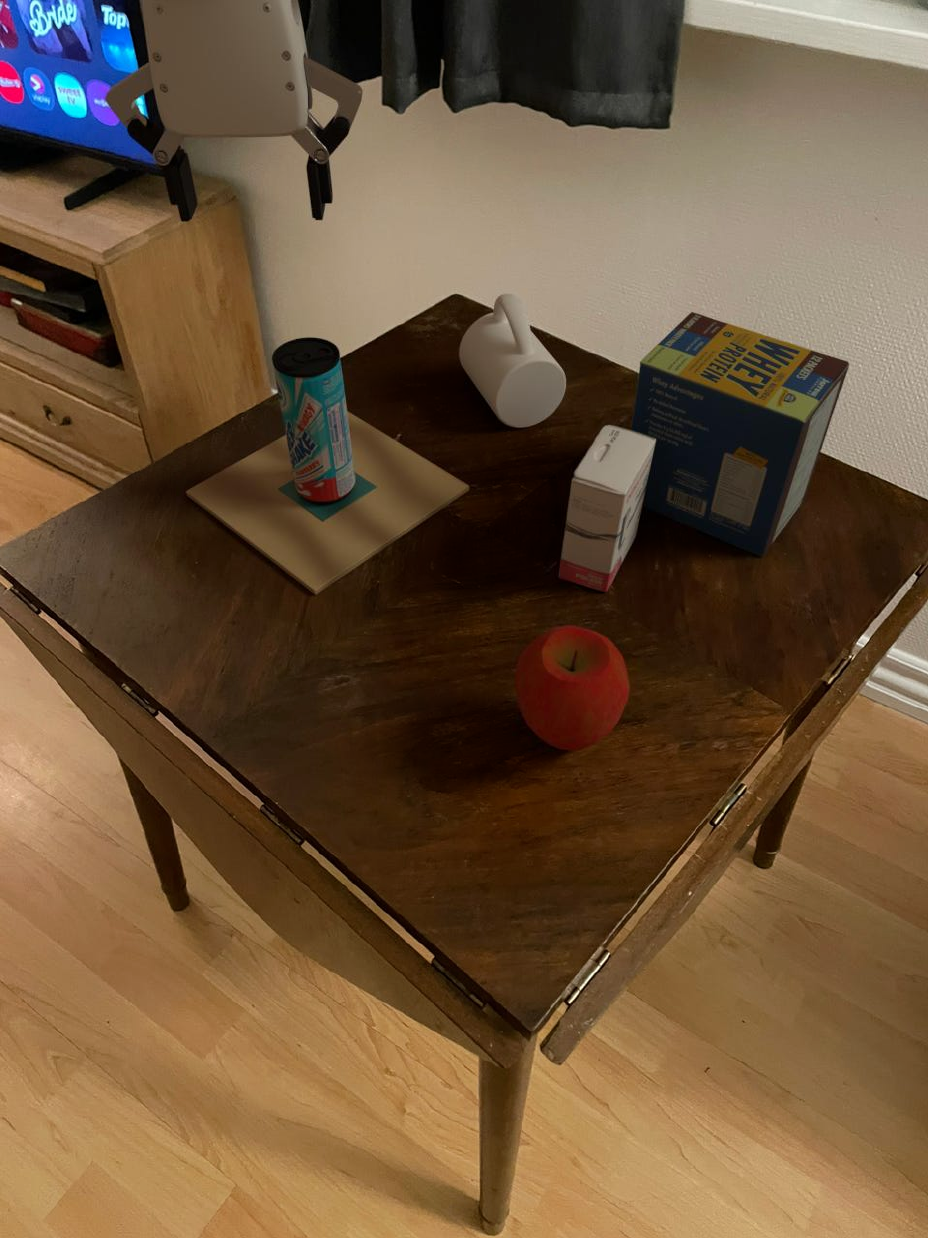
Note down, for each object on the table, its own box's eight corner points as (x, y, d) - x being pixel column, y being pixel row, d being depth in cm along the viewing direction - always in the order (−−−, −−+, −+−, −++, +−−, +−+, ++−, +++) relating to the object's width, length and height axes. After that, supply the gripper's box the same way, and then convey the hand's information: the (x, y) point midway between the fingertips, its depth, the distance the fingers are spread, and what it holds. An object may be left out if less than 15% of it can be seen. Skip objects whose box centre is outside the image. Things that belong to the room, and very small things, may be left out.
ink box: (609, 596, 83) (625, 494, 74) (556, 579, 85) (566, 477, 76) (640, 536, 88) (658, 434, 80) (589, 521, 90) (602, 419, 81)
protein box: (665, 444, 98) (690, 309, 86) (806, 499, 92) (853, 361, 80) (616, 498, 92) (636, 360, 81) (763, 560, 86) (807, 421, 75)
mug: (493, 436, 99) (495, 335, 90) (458, 384, 105) (457, 285, 97) (564, 419, 101) (572, 318, 92) (525, 369, 107) (530, 270, 99)
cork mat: (315, 595, 84) (314, 589, 83) (186, 495, 93) (185, 490, 92) (469, 490, 93) (469, 484, 93) (338, 409, 103) (337, 404, 102)
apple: (490, 722, 74) (491, 632, 66) (576, 677, 77) (587, 586, 69) (552, 802, 69) (562, 715, 61) (642, 751, 72) (662, 662, 64)
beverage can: (292, 474, 94) (267, 342, 83) (350, 464, 95) (333, 332, 84) (300, 512, 90) (275, 378, 79) (360, 501, 91) (344, 368, 80)
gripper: (353, -83, 59) (373, 190, 72) (81, -81, 59) (148, 192, 72) (345, -54, 54) (368, 234, 67) (47, -52, 54) (126, 237, 67)
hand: (254, 212), depth 69 cm, fingers open, 9 cm apart
